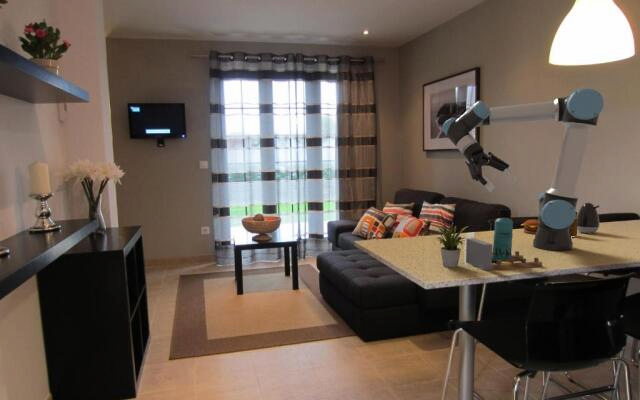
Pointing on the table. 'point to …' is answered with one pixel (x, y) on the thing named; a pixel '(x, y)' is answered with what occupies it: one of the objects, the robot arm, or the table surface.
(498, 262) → the wooden peg rack
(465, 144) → the robot arm
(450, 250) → the house plant
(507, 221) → the beverage bottle
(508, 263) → the band marker
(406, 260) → the table surface
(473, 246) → the end block
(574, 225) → the condiment
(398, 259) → the table surface
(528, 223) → the hamburger
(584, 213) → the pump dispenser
